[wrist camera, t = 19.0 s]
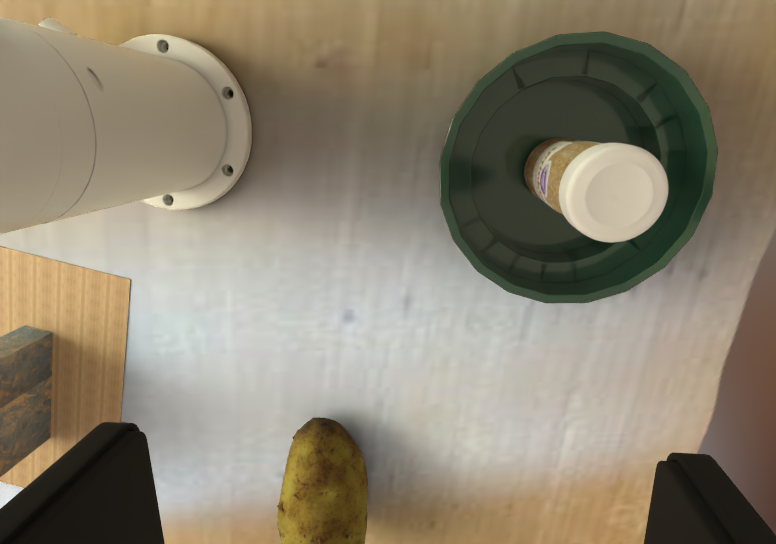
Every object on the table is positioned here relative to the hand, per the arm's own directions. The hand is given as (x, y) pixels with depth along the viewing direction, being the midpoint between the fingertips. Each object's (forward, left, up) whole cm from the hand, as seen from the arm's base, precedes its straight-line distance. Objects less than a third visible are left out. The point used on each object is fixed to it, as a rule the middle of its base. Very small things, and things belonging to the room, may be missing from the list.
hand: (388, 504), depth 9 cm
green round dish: (+5, +8, -30) cm, 32 cm away
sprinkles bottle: (+5, +8, -30) cm, 31 cm away
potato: (+7, -24, -31) cm, 39 cm away
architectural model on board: (-20, -34, -31) cm, 50 cm away
